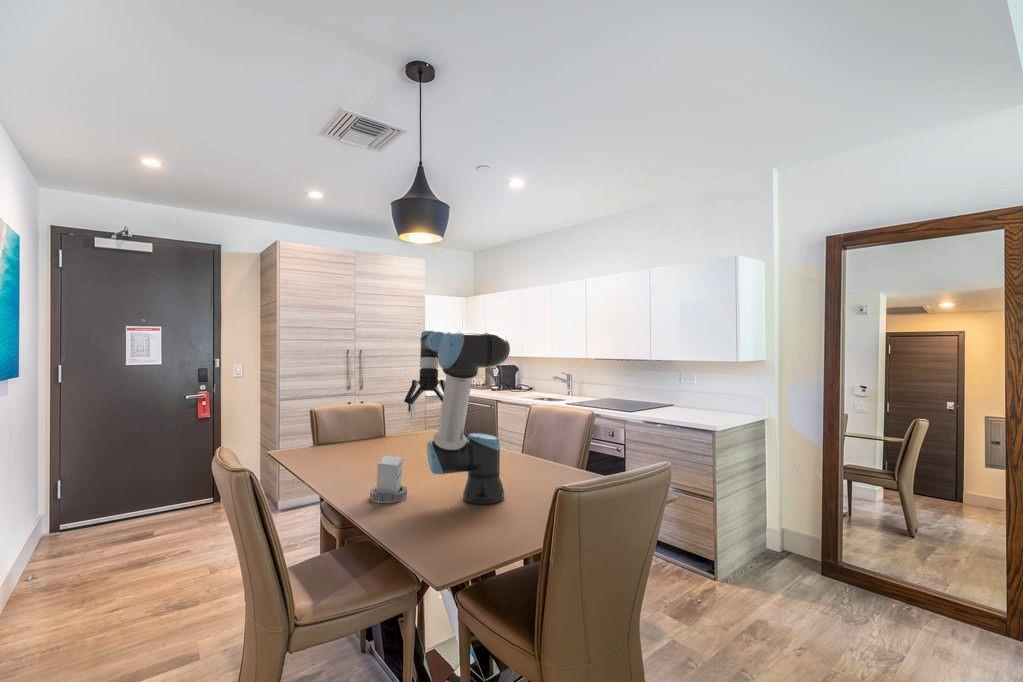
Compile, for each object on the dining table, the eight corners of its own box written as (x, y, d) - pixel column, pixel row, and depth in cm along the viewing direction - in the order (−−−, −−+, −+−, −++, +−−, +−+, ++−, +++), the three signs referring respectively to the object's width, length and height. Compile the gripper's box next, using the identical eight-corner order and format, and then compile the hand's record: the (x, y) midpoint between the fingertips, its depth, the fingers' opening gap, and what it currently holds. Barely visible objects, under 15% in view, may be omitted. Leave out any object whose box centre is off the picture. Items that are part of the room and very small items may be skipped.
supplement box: (395, 498, 172) (397, 465, 170) (375, 496, 172) (377, 463, 170) (401, 488, 179) (403, 457, 177) (381, 486, 180) (383, 454, 177)
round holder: (413, 498, 175) (413, 490, 175) (379, 506, 166) (379, 497, 167) (397, 490, 185) (397, 482, 185) (364, 497, 176) (364, 488, 177)
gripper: (460, 368, 199) (459, 420, 196) (405, 369, 205) (403, 419, 202) (453, 367, 192) (452, 420, 189) (397, 368, 198) (395, 420, 195)
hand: (427, 420), depth 195 cm, fingers open, 13 cm apart
